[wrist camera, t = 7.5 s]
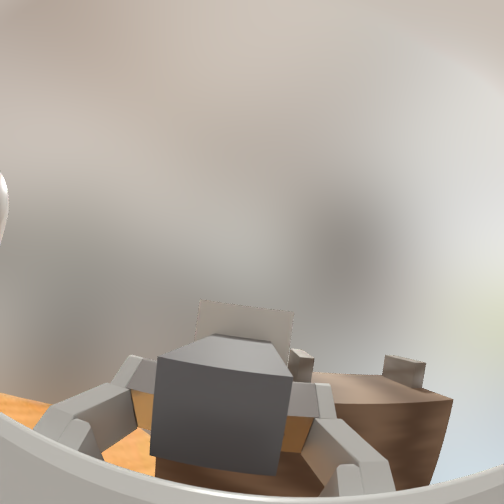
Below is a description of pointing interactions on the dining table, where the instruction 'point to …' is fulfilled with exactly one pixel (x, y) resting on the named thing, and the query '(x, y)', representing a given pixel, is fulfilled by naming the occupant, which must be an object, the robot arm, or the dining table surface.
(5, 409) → the dining table surface
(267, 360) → the grey and white block
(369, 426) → the brown wood grain box
